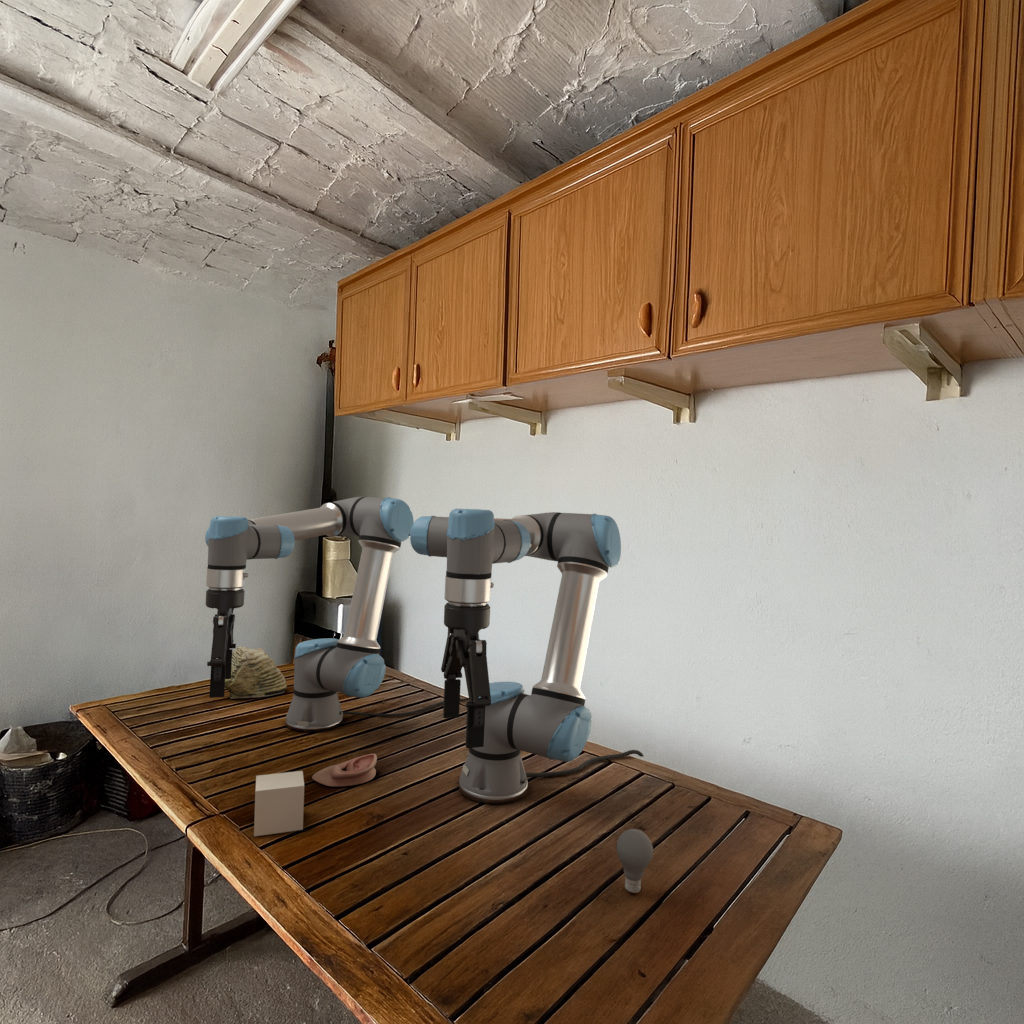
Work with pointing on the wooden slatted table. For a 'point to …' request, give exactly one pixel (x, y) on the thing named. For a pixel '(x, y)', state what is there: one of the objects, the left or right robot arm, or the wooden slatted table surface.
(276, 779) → the beige block
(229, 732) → the wooden slatted table surface
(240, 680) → the fossil
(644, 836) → the light bulb
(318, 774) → the anatomical model
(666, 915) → the wooden slatted table surface
